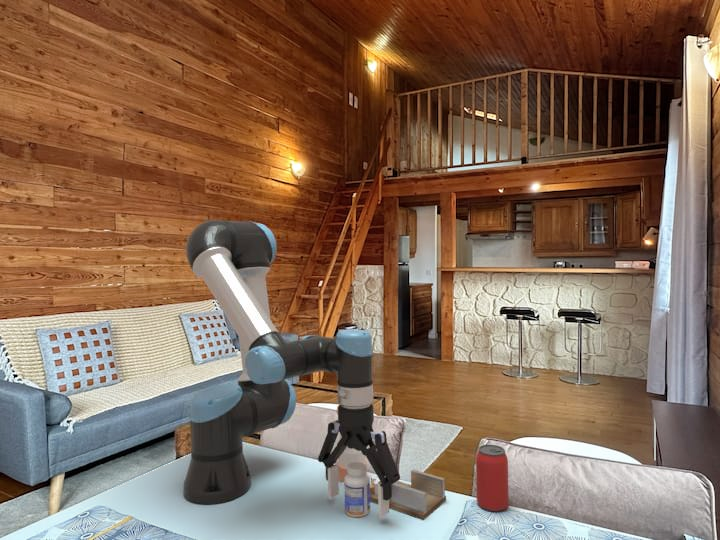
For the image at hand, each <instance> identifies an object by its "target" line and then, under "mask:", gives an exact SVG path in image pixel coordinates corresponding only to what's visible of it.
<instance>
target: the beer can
mask: <svg viewBox="0 0 720 540" xmlns="http://www.w3.org/2000/svg"><path fill="white" fill-rule="evenodd" d="M508 459H509V458H508V456H507V454H506V449H505V448H504V447H502V446H499V445H497V444H482V445H480V446H478V451H477V455H476V457H475V460H476V461H475V466H476V467H475V471H476V472H475V473H476V475H475V476H476V479H475V480H476V502H477V505H478V506H480V507H481V508H482V509H484V510H487V511H488V512H489V511H491V512H501V511H503V510H504V511H505V510H506V509H508V507H509V504H510V503H509V502H510V501H509V461H508Z"/></svg>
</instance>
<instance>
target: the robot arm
mask: <svg viewBox="0 0 720 540" xmlns="http://www.w3.org/2000/svg"><path fill="white" fill-rule="evenodd" d="M277 246H278V245H277V241H276V238H275V235H274V234H273V231H271V229H270V228H269V227H267V226H266V225H265V224H263V223H260V222H259V223H258V222H254V221H249V220H248V221H238V220H223V219H209V220H206V221H204V222H201V223H200V224H198V225H196V227H194V229H193V230H191V232H190V233H189V236H188V238H187V241H186V246H185V255H186V259H187V262H188V265H189V267H190V268H191V270H192V272H193V274H194V276H196V277H198V278H200V279H203V282H204V284H206V286H207V288H208V289H209V291H210V293H211V294H212V296H213V297H214V299H215V301H216V302H217V304H218V305H219V307H220V308H221V310H222V311H223V313H224V315H225V316H226V318H227V320H228V321H229V323H230V324H231V326H232V328H233V330H234V332H235V333H236V334H237V336H238V341H239V349H240V350H239V351H240V358H241V367H242V373H241V374H240V376H238V379H237V384H236V383H223V384H216V385H213V386H212V385H211V386H209V387H208V386H207V387H206V388H204V389H201V390H200V391H198V392H197V393H195V394H194V395H193V397H192V398H191V400H190V406H189V407H190V408H189V415H188V417H189V422H190V425H189V427H190V428H189V429H190V430H189V431H190V462H189V465H188V468H187V473H186V476H185V480H184V483H183V496H184V498H185V499H186V500H187V501H189V502H191V503H195V504H198V505H199V504H201V505H212V504H213V505H214V504H220V503H221V504H222V503H225V502H229V501H233V500H235V499H237V498H240V497H241V496H243V495H244V494H246V493H247V492H248V491H249V490H250V488H251V486H252V477H251V476H252V475H251V472H250V469H249V467H248V464H247V461H246V458H245V455H244V452H243V451H244V450H243V448H244V447H243V441H244V440H243V438H245V437H248V436H251V435H253V434H257V433H260V432H263V431H267V430H269V429H275V428H277V427H278V426H281V425H284V424H285V423H287V422H288V421H289V420H290V419H291V418H292V416H293V415H294V412H295V410H296V407H297V394H296V390H295V388H294V386H292V384H293V383H292V382H291V381H290V380H289V379H292V378H296V377H301V376H302V377H303V376H305V375H306V376H307V375H310V374H313V373H317V372H327V373H331V374H332V373H333V374H336V376H337V377H336V379H337V381H336V384H337V403H338V405H339V404H340V405H339V406H337V407H338V414H337V419H336V420H334V421H331V422H329V423H328V425H327V434H326V437H325V439H324V441H323V444H322V447H321V450H320V452H319V455H318V457H317V461H318V462H319V463H322V464H323V465H324V467H325V479H326V481H327V494H328V495H327V497H328V499H329V500H332V499H334V498H335V497H337V496H338V495H340V487H339V485H340V484H339V483H340V481H339V475H338V465H337V462H338V458H339V457H340V455H341V454H342V453H343V451H344V450H345V449H346V447H347V446H348V448H350V449H353V448H354V449H355V450H357V451H361V452H362V454H363V455H365V458H366V459H367V460H368V462H369V464H370V466H371V467H372V469H373V471H374V473H375V474H376V477H377V478H378V479H379V481H381V483H379V484H378V504H377V505H378V517H379V518H384V517H385V516H386V515H387V514H389V513H390V508H389V499H390V498H391V497H392V484H394V483H395V482H397V481H398V480H399V481H400V480H401V476H400V473H399V470H398V468H397V465H396V462H395V460H394V457H393V455H392V452H391V449H390V446H389V444H388V440H387V439H388V438H387V433H386V431H384V430H381V431H380V432H378V431H377V432H376V431H374V429H373V425H374V424H373V423H374V422H375V421H374V419H375V417H374V416H375V415H374V405H373V403H374V382H373V380H374V379H373V358H374V357H373V353H374V350H373V344H372V343H373V341H372V335H371V332H370V331H367V330H365V329H345V330H344V329H343V330H340V331H338V332H337V333H336V335H335V336H336V337H328V336H321V335H319V334H318V335H317V334H315V335H309V334H308V335H305V336H302V337H301V338H300V339H299V340H293V341H286V340H285V339H284V337H283V336H282V335H281V333H280V332H279V331H278V329H277V328H276V325H275V324H274V323H273V322H272V320H271V312H270V306H269V304H270V303H269V296H268V288H267V281H266V275H267V274H268V273H269V272H270V270H271V266H270V264H272V263H273V262H274V260H275V258H276V254H277V249H278V248H277ZM340 434H341V436H342V438H341V439H340V440H339V439H338V442H337V443H336V441H337V438H338V435H340ZM335 443H336V446H335ZM334 446H335V447H334Z"/></svg>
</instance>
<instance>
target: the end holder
mask: <svg viewBox="0 0 720 540" xmlns="http://www.w3.org/2000/svg"><path fill="white" fill-rule="evenodd" d="M445 483H446V480H445V478H444V477H441V476H437V475H434V474H430V473H427V472H423V471H419V470H416V469H411V470H410V485H411V488H410V487H407V486H404V485H401V484H397V483H394V484H392V503H394V504H397V505H400V506H402V507H405V508H408V509H411V510H414V511H417V512H420V513H423V514H425V513H426V512H427V494H430V495H433V496H437V497H440V498H444V497H445V496H446V487H445V486H446V484H445ZM426 493H427V494H426Z"/></svg>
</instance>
